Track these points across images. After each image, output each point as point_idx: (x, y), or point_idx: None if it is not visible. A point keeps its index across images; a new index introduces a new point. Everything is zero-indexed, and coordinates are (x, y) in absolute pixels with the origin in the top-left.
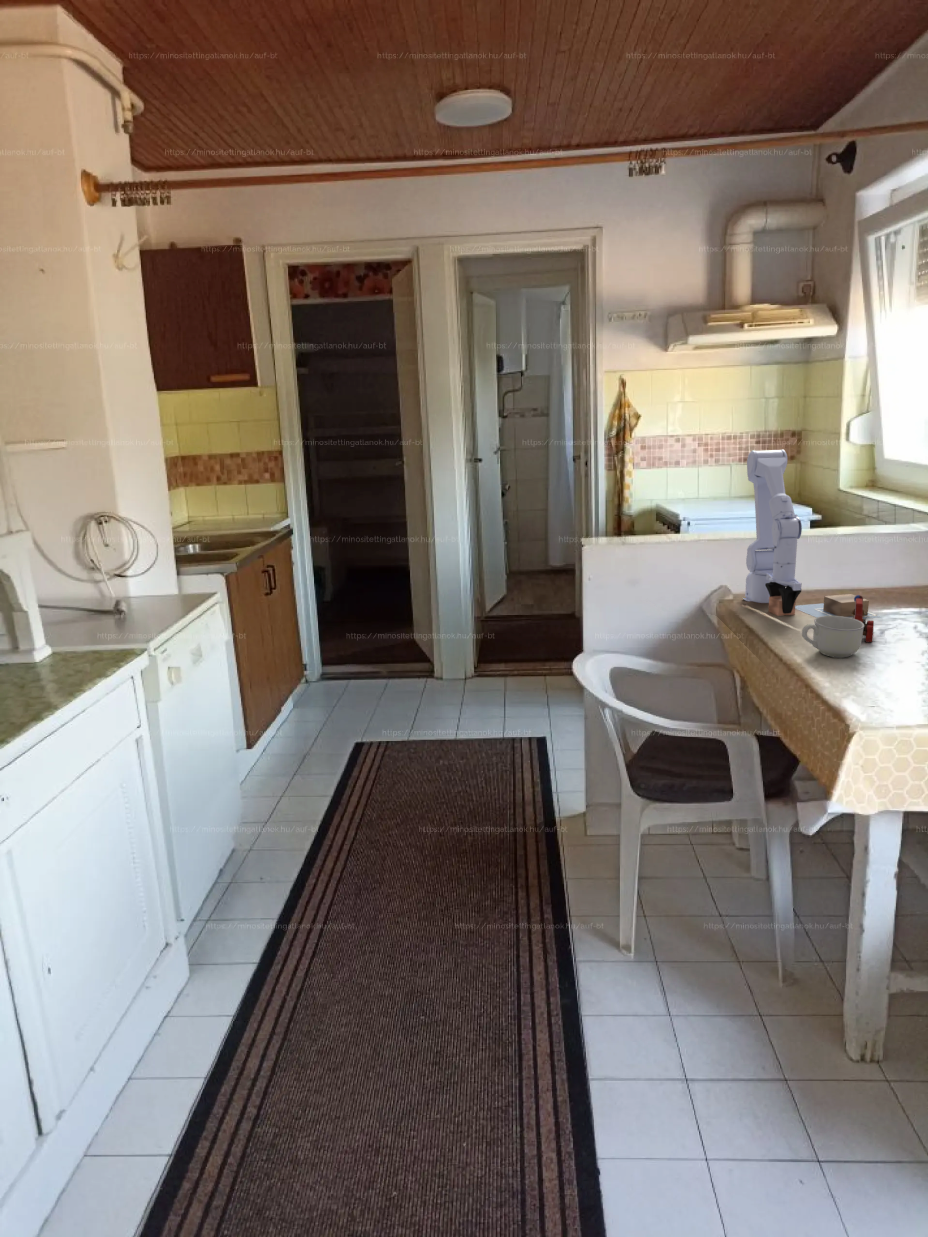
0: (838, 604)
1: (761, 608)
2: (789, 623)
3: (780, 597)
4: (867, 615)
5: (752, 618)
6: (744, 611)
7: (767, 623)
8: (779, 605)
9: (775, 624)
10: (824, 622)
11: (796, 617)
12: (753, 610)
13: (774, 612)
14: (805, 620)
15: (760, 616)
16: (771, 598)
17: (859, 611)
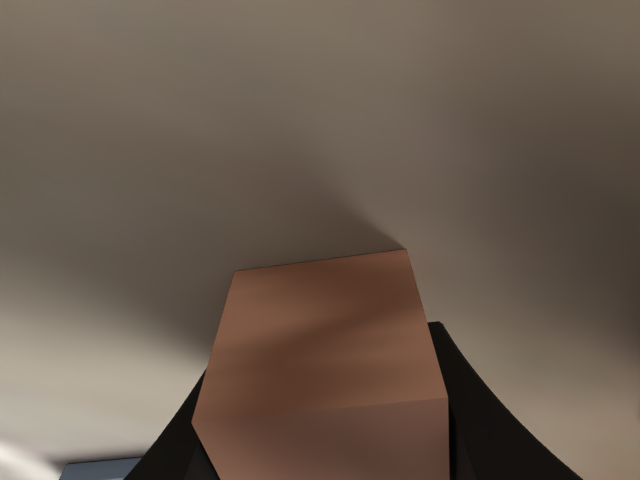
0: None
1: (635, 263)
2: (66, 300)
3: (369, 475)
4: None
5: (256, 24)
6: (615, 46)
7: (29, 120)
8: (211, 377)
9: (2, 184)
10: None
11: None
12: (604, 166)
13: (294, 291)
14: (173, 409)
15: (336, 150)
16: (383, 394)
17: None
